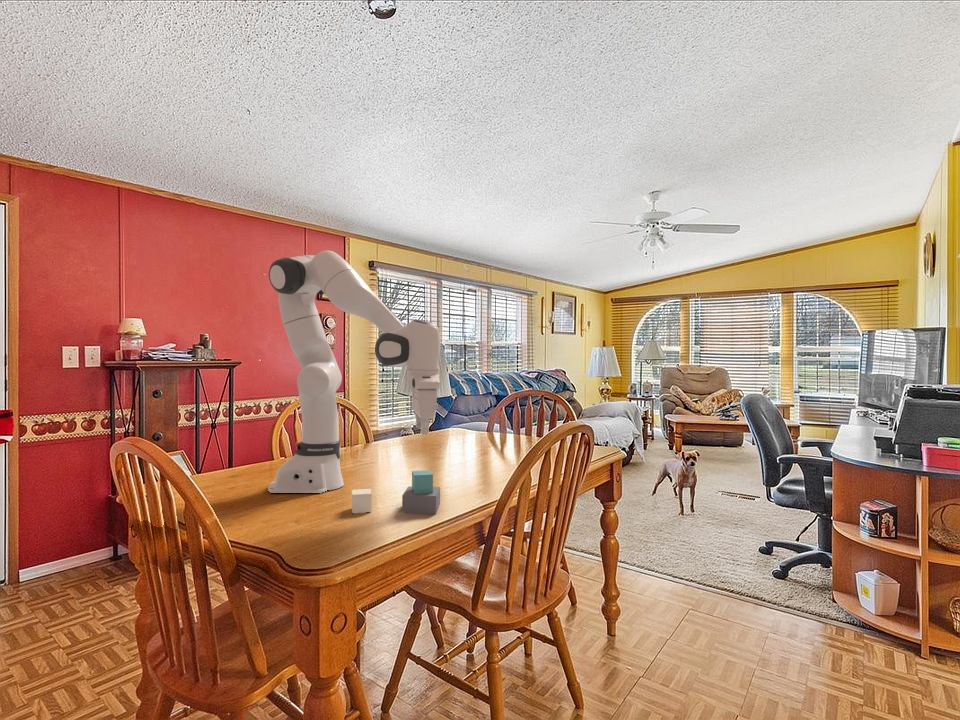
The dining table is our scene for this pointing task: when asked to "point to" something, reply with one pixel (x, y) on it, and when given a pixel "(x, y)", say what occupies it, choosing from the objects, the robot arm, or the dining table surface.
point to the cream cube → (361, 500)
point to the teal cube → (422, 482)
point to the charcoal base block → (420, 502)
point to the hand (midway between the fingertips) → (421, 431)
